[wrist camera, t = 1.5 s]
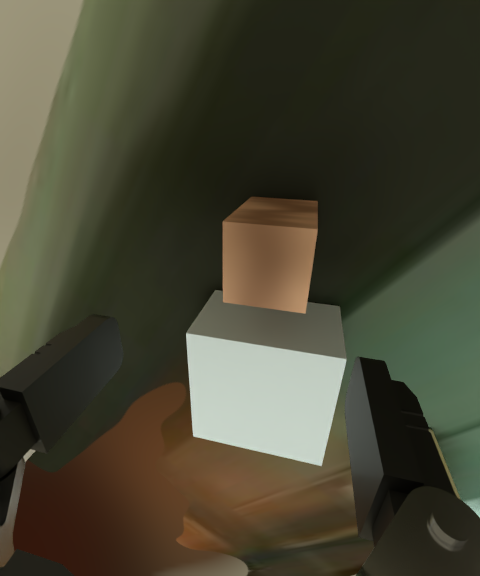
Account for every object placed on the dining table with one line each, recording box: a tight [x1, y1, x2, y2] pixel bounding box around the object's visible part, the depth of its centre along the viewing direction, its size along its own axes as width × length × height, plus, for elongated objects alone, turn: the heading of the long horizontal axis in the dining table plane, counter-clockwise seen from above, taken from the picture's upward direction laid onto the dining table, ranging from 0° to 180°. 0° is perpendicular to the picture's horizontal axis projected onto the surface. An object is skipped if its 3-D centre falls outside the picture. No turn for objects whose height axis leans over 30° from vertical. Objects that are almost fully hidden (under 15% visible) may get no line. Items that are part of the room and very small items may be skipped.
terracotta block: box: [223, 197, 318, 314], centre depth 20 cm, size 5×5×8 cm
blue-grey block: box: [186, 290, 347, 466], centre depth 26 cm, size 11×11×7 cm
